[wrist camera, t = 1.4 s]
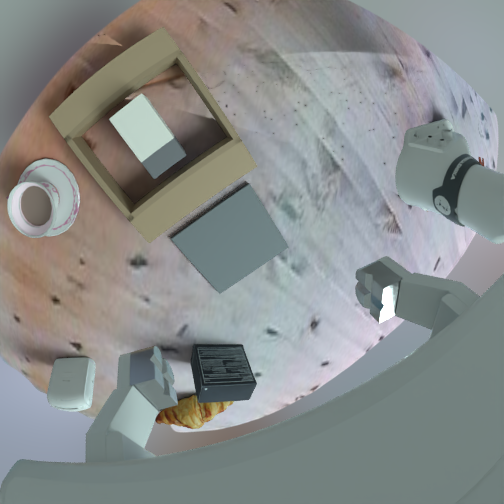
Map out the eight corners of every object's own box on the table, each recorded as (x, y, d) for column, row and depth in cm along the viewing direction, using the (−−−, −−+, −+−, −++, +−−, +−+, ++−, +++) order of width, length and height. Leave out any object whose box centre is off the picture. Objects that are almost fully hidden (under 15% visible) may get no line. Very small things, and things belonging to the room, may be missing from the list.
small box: (189, 364, 53) (196, 404, 45) (192, 343, 51) (200, 385, 42) (237, 363, 57) (249, 401, 48) (243, 343, 55) (258, 383, 46)
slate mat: (248, 183, 39) (249, 184, 39) (287, 245, 46) (288, 247, 46) (171, 237, 40) (171, 239, 39) (219, 291, 47) (219, 293, 46)
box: (147, 98, 30) (141, 93, 24) (184, 149, 34) (186, 155, 28) (120, 119, 30) (108, 119, 24) (157, 168, 35) (154, 179, 29)
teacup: (90, 172, 32) (77, 182, 27) (71, 244, 35) (58, 264, 30) (27, 148, 27) (6, 155, 21) (12, 221, 30) (-5, 237, 25)
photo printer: (91, 355, 46) (84, 404, 35) (98, 368, 48) (94, 415, 37) (52, 356, 43) (41, 402, 33) (61, 369, 45) (52, 413, 35)
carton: (163, 35, 26) (163, 26, 22) (249, 161, 38) (257, 166, 34) (60, 116, 26) (48, 116, 23) (150, 231, 38) (149, 243, 35)
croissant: (225, 378, 64) (227, 391, 56) (238, 409, 63) (242, 423, 55) (150, 399, 60) (144, 413, 52) (166, 429, 60) (162, 444, 52)
